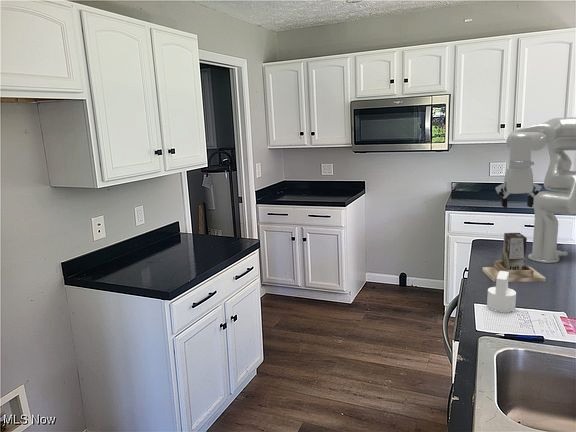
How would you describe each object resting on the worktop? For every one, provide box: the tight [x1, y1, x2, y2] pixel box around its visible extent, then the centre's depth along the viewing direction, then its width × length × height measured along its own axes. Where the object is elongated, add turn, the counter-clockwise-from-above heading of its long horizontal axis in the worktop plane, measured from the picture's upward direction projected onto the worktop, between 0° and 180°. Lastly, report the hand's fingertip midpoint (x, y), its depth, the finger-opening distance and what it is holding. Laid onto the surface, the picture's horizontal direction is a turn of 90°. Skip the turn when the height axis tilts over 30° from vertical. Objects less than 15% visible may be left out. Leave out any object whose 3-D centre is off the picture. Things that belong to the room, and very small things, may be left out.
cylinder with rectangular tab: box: [486, 271, 517, 313], centre depth 154 cm, size 9×9×12 cm
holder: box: [481, 260, 546, 283], centre depth 184 cm, size 20×14×4 cm
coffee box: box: [502, 232, 528, 270], centre depth 183 cm, size 9×6×16 cm
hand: (517, 207), depth 179 cm, fingers open, 9 cm apart
